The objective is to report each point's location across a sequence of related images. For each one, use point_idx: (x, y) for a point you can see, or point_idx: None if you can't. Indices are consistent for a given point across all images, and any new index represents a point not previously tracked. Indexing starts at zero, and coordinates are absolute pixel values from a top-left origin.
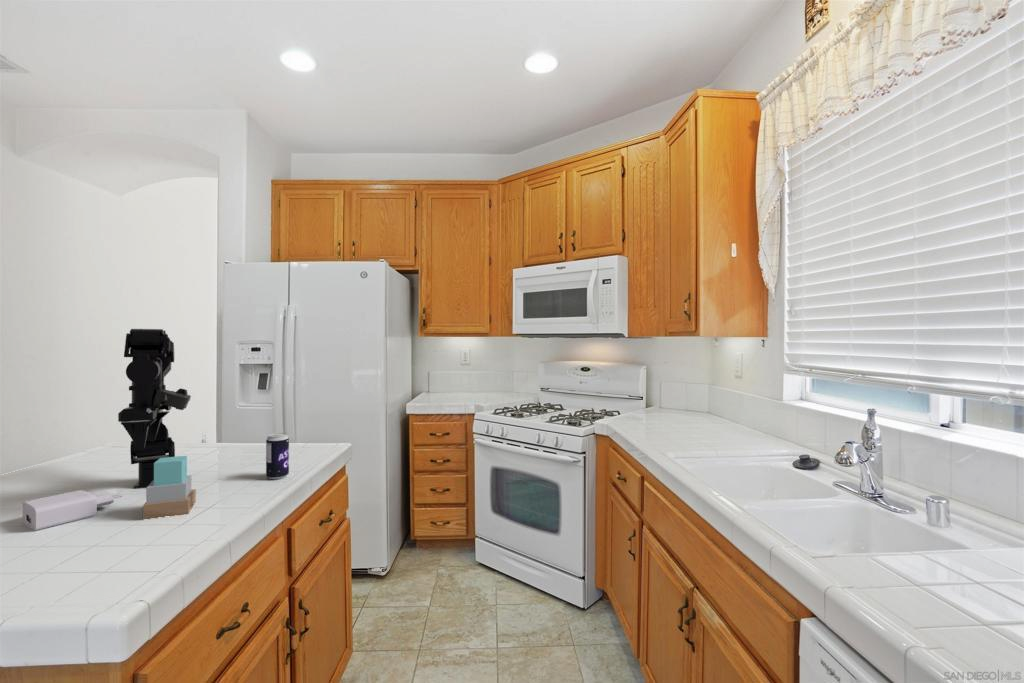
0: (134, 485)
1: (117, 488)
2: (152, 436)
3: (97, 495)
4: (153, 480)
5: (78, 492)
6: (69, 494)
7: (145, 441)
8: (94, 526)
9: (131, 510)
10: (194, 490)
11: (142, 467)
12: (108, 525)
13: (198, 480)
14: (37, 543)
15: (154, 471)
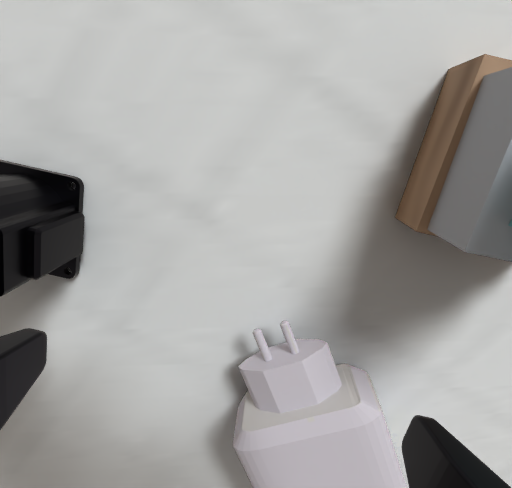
0: (61, 276)
1: (45, 318)
2: (8, 380)
3: (290, 393)
4: (494, 256)
5: (286, 453)
6: (295, 472)
7: (493, 480)
8: (470, 360)
9: (374, 279)
10: (509, 60)
11: (20, 283)
12: (494, 331)
13: (68, 35)
14: (508, 453)
15: None
